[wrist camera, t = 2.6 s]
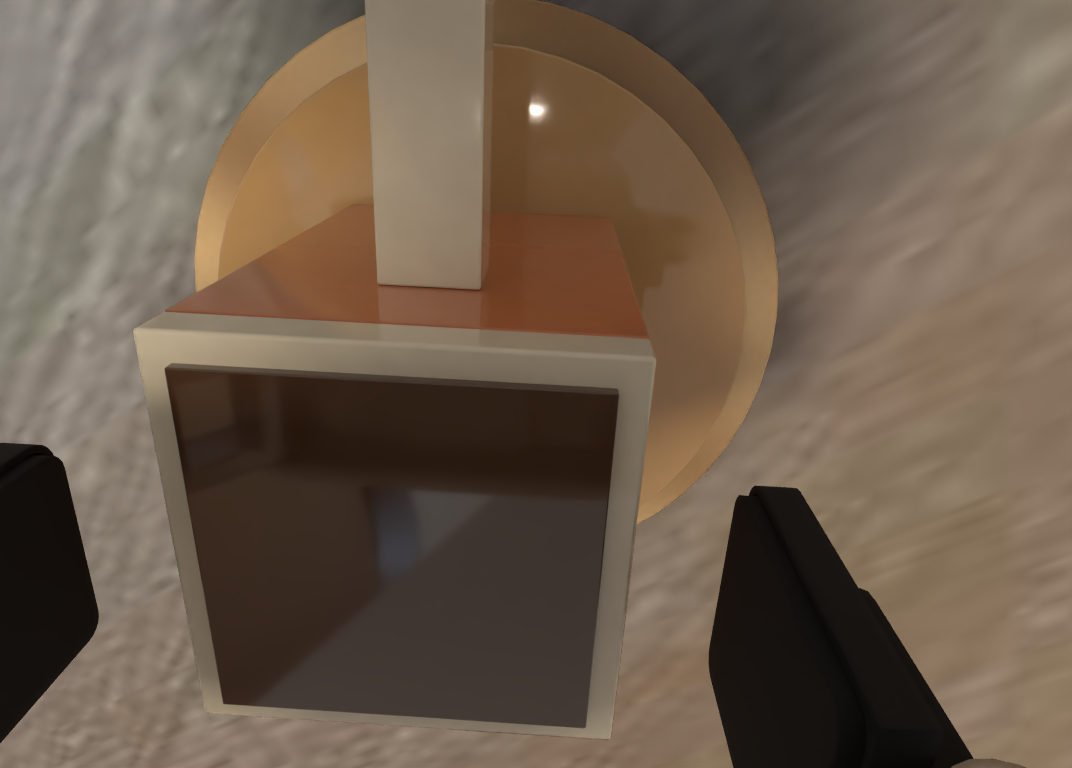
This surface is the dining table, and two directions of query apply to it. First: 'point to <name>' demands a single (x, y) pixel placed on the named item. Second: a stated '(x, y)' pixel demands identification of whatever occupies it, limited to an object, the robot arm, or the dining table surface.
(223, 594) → the orange block with handle
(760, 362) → the turntable base
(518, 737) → the dining table surface
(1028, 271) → the dining table surface
